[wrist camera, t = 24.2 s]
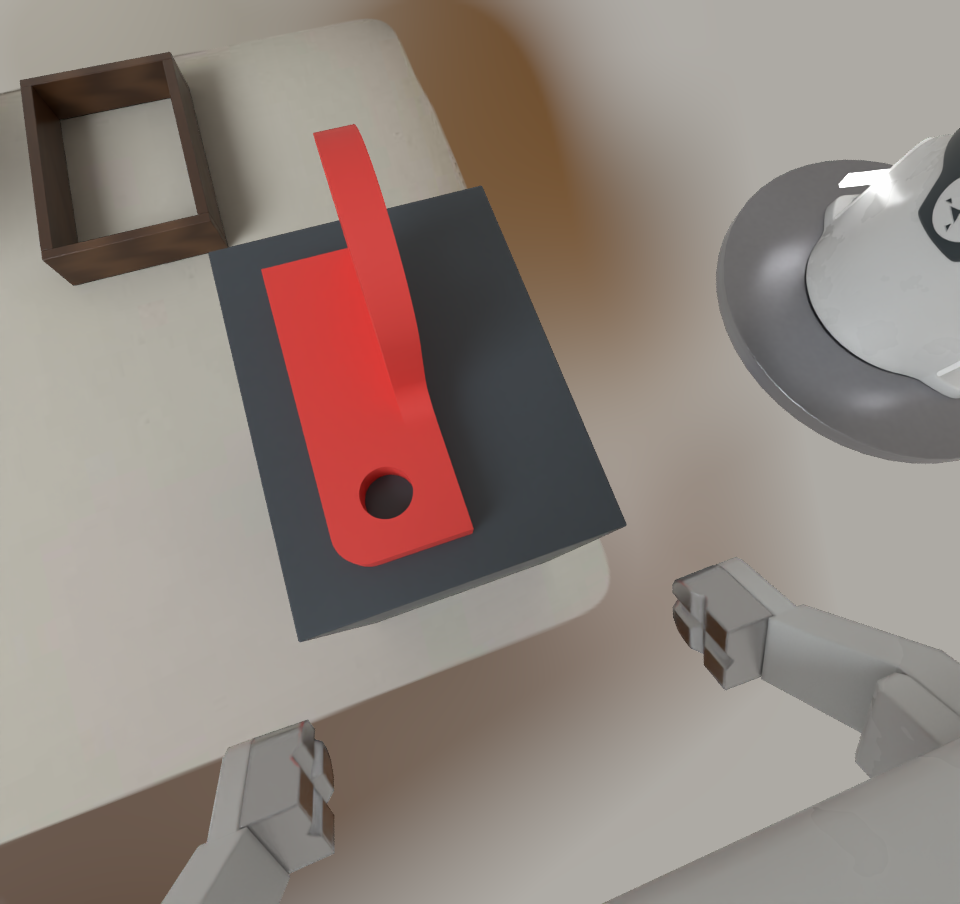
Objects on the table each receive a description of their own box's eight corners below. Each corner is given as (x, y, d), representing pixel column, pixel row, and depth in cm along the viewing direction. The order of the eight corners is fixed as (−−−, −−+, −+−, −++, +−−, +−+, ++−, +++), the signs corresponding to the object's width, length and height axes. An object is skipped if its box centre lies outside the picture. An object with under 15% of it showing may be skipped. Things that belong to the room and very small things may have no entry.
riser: (471, 355, 37) (482, 184, 22) (549, 560, 33) (627, 525, 18) (313, 401, 36) (207, 251, 21) (374, 623, 32) (298, 642, 16)
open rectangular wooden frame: (189, 87, 44) (170, 51, 41) (228, 248, 39) (210, 220, 36) (49, 115, 42) (19, 79, 39) (73, 286, 38) (41, 260, 35)
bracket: (271, 287, 20) (160, 97, 13) (380, 259, 21) (336, 63, 13) (347, 575, 17) (259, 554, 9) (472, 533, 18) (484, 481, 10)
